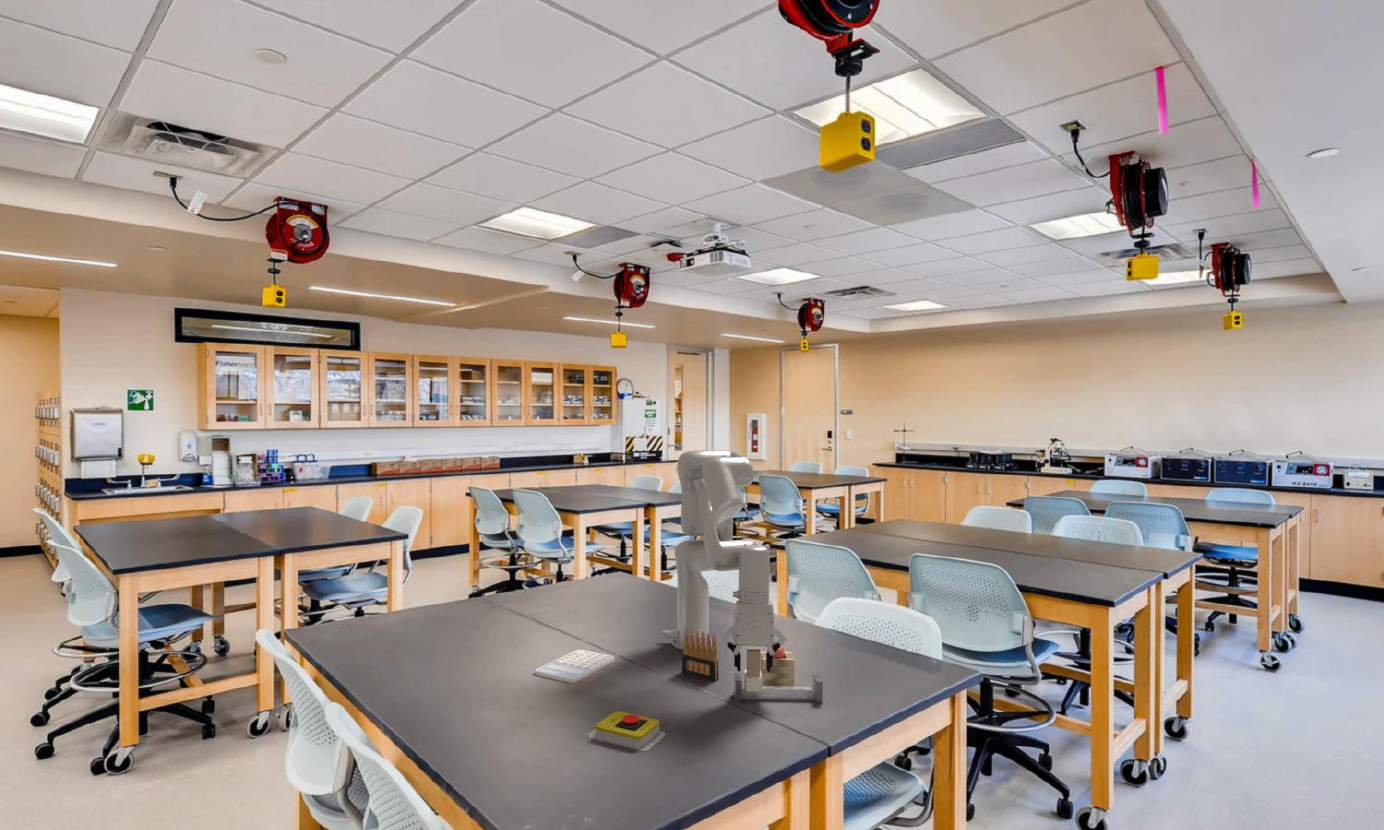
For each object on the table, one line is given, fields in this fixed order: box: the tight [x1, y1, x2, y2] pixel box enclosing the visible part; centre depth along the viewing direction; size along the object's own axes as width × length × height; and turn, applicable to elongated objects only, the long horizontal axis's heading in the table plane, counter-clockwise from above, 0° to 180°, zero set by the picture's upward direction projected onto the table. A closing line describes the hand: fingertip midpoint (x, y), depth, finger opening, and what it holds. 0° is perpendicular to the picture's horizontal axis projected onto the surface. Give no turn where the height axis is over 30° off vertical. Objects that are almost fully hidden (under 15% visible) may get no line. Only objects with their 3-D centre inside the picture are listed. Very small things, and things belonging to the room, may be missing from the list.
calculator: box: [534, 648, 616, 684], centre depth 188 cm, size 13×20×2 cm, turn 153°
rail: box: [733, 672, 824, 704], centre depth 168 cm, size 21×5×5 cm, turn 90°
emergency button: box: [586, 710, 667, 752], centre depth 147 cm, size 9×4×15 cm
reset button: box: [773, 645, 785, 659], centre depth 178 cm, size 4×4×4 cm
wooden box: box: [760, 651, 795, 687], centre depth 178 cm, size 8×6×7 cm
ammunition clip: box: [681, 628, 720, 683], centre depth 182 cm, size 11×2×12 cm, turn 56°
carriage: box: [743, 647, 763, 692], centre depth 168 cm, size 4×6×9 cm, turn 0°
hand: (753, 669), depth 168 cm, fingers open, 6 cm apart
